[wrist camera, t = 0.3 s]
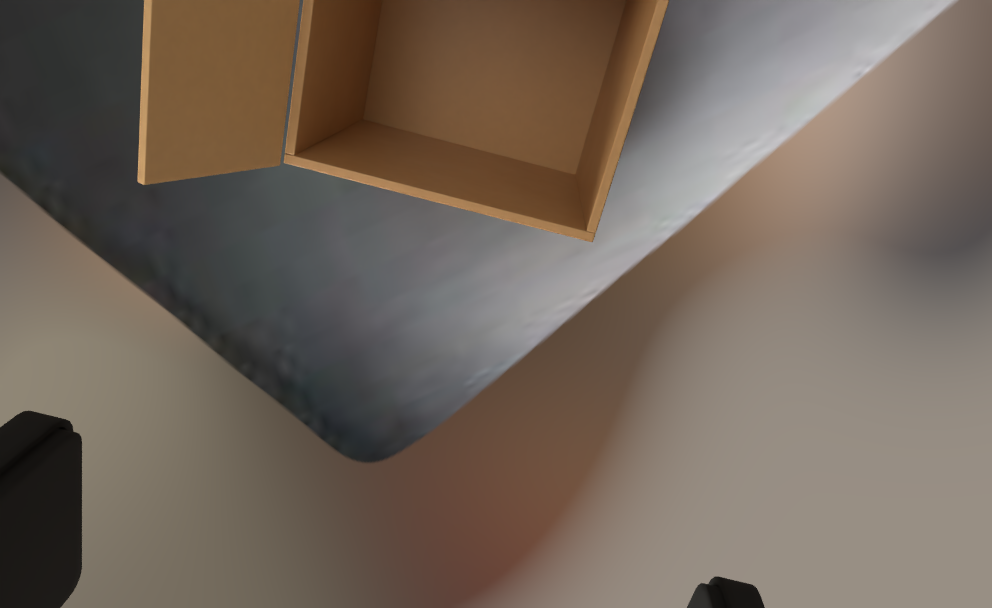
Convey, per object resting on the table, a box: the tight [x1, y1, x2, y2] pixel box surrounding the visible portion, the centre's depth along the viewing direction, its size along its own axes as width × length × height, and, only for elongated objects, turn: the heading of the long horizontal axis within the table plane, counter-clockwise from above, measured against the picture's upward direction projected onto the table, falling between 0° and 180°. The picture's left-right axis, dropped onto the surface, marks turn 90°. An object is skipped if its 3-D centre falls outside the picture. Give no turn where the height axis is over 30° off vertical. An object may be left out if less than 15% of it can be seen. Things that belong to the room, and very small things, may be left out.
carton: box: [284, 0, 669, 242], centre depth 31 cm, size 13×11×11 cm
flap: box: [138, 0, 300, 185], centre depth 22 cm, size 6×11×1 cm
